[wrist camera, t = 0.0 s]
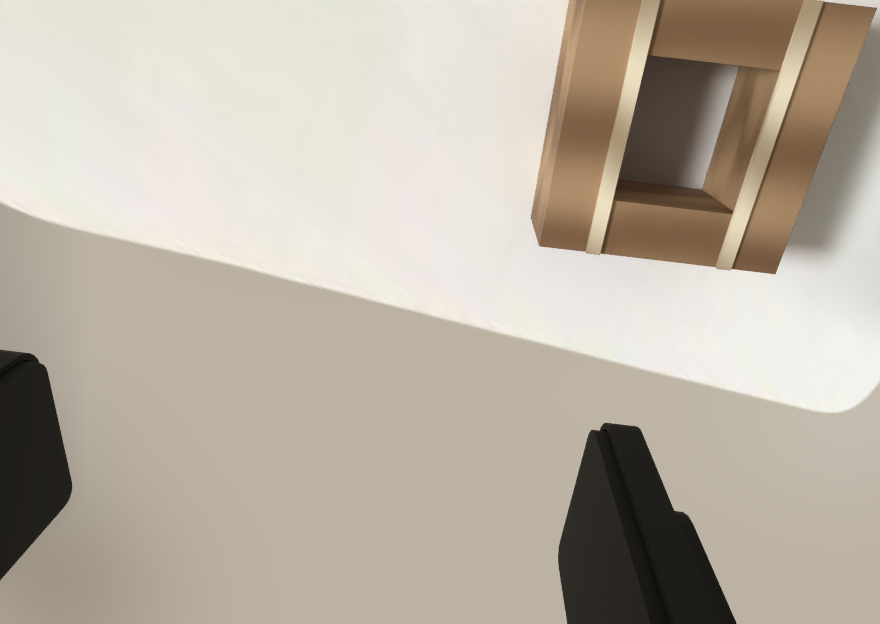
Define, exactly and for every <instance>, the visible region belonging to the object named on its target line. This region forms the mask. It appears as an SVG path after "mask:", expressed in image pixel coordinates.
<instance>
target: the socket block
mask: <svg viewBox="0 0 880 624" xmlns="http://www.w3.org/2000/svg"><path fill="white" fill-rule="evenodd" d="M876 9H877V8H873V7H864V6H855V5H847V4H838V3H829V2H824V1H818V0H569V5H568V11H567V16H566V22H565V28H564V33H563V39H562V45H561V50H560V56H559V62H558V67H557V73H556V79H555V84H554V90H553V95H552V101H551V107H550V112H549V118H548V124H547V129H546V135H545V141H544V146H543V152H542V158H541V163H540V169H539V174H538V180H537V186H536V191H535V197H534V203H533V208H532V214H531V219H532V223H533V226H534V230H535V233H536V237H537V240H538V244H539V246H542V247H551V248H559V249H568V250H576V251H584V252H586V253H588V254H596V255H600V253H601V254H610V255H618V256H627V257H635V258H644V259H652V260H661V261H669V262H677V263H686V264H694V265H703V266H711V267H716V268H717V269H723V270H731V269H737V270H745V271H753V272H762V273H770V274H776V271H777V268H778V266H779V263H780V261H781V258H782V255H783V253H784V250H785V247H786V245H787V242H788V240H789V237H790V234H791V232H792V229H793V226H794V224H795V221H796V219H797V216H798V213H799V211H800V208H801V205H802V203H803V200H804V198H805V195H806V192H807V190H808V187H809V185H810V182H811V179H812V177H813V174H814V171H815V169H816V166H817V164H818V161H819V158H820V156H821V153H822V150H823V148H824V145H825V143H826V140H827V137H828V135H829V132H830V129H831V127H832V124H833V122H834V119H835V116H836V114H837V111H838V109H839V106H840V103H841V101H842V98H843V95H844V93H845V90H846V88H847V85H848V82H849V80H850V77H851V74H852V72H853V69H854V67H855V64H856V61H857V59H858V56H859V53H860V51H861V48H862V46H863V43H864V40H865V38H866V35H867V32H868V30H869V27H870V25H871V22H872V19H873V17H874V14H875V12H876ZM647 55H653V56H661V57H670V58H678V59H687V60H696V61H704V62H713V63H722V64H730V65H739V70H738V73H737V76H736V80H735V83H734V86H733V89H732V93H731V96H730V99H729V103H728V106H727V109H726V113H725V116H724V119H723V123H722V126H721V129H720V132H719V136H718V139H717V142H716V146H715V149H714V152H713V156H712V159H711V162H710V166H709V169H708V172H707V176H706V179H705V182H704V185H703V189H702V190H701V189H692V188H684V187H675V186H667V185H658V184H650V183H641V182H632V181H624V180H618V177H619V172H620V168H621V164H622V160H623V155H624V151H625V147H626V143H627V139H628V134H629V130H630V126H631V122H632V117H633V113H634V109H635V105H636V101H637V96H638V92H639V88H640V84H641V79H642V75H643V71H644V67H645V63H646V58H647Z"/></svg>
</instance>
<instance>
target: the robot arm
mask: <svg viewBox="0 0 880 624" xmlns="http://www.w3.org/2000/svg"><path fill="white" fill-rule="evenodd" d="M71 491H72V481H71V476H70V472H69V467H68V463H67V458H66V454H65V449H64V445H63V440H62V436H61V431H60V426H59V422H58V418H57V413H56V408H55V404H54V399H53V395H52V391H51V386H50V381H49V377H48V372H47V369H46V367H45V366H44V365H43V364H40V363H39V361H38V359H37V358H36V357H35V356H34V355H32V354H30V353H22V352H13V351H6V350H0V580H1V579H2V578H3V576H4V575H5V574H6V573H7V572H8V571H9V569H10V568H11V567H12V566H13V565H14V564H15V562H17V560H18V559H19V558H20V557H21V556H22V555H23V553H24V552H25V551H26V550H27V549H28V548H29V547H30V545H31V544H32V543H33V542H34V541H35V540H36V538H37V537H38V536H39V535H40V534H41V533H42V532H43V530H44V529H45V528H46V527H47V526H48V525H49V524H50V523H51V521H52V520H53V519H54V518H55V517H56V516H57V515H58V513H59V512H60V511H61V510H62V509H63V508H64V506H65V505H66V504H67V502H68V500H69V498H70V495H71ZM558 563H559V571H560V578H561V585H562V591H563V598H564V604H565V611H566V617H567V624H736V621H735V619H734V617H733V614H732V612H731V610H730V608H729V605H728V603H727V601H726V598H725V596H724V594H723V592H722V589H721V587H720V585H719V582H718V580H717V578H716V576H715V573H714V571H713V569H712V566H711V564H710V562H709V560H708V557H707V555H706V553H705V551H704V548H703V546H702V544H701V541H700V539H699V537H698V535H697V532H696V530H695V528H694V525H693V523H692V522H691V520H690V518H689V517H688V516H687V515H686V514H685V513H683V512H677V511H674V509H673V507H672V504H671V502H670V500H669V497H668V495H667V492H666V490H665V487H664V485H663V483H662V480H661V478H660V475H659V473H658V470H657V468H656V466H655V463H654V461H653V459H652V456H651V453H650V451H649V449H648V446H647V444H646V441H645V439H644V436H643V434H642V432H641V430H640V429H639V428H638V427H636V426H628V425H619V424H611V423H604V424H603V425H602V427H601V429H600V431H597V430H591V432H590V433H589V435H588V439H587V442H586V446H585V450H584V454H583V458H582V461H581V465H580V469H579V473H578V476H577V480H576V484H575V488H574V491H573V495H572V499H571V503H570V506H569V510H568V514H567V518H566V521H565V525H564V529H563V533H562V537H561V540H560V545H559V554H558Z"/></svg>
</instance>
